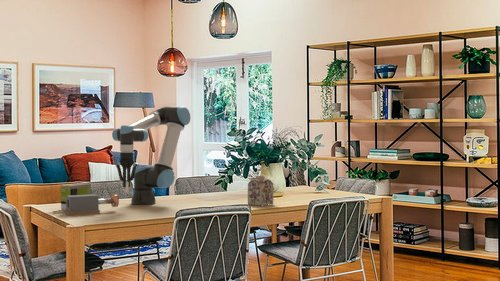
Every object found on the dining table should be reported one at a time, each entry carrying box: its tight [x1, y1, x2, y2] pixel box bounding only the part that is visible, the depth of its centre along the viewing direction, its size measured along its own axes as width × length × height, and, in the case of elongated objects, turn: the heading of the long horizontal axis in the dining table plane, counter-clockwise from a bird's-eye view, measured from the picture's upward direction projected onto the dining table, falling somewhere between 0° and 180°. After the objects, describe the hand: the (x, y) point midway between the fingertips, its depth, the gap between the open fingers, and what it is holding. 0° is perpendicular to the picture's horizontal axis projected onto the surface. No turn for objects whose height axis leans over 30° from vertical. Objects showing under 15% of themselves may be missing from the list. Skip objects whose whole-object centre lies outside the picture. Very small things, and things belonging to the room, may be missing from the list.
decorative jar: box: [247, 175, 274, 206], centre depth 417 cm, size 12×12×18 cm
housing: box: [63, 193, 101, 217], centre depth 377 cm, size 17×12×10 cm
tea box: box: [60, 182, 92, 211], centre depth 395 cm, size 15×10×15 cm, turn 141°
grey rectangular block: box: [99, 194, 120, 208], centre depth 382 cm, size 21×7×7 cm, turn 120°
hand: (126, 192), depth 389 cm, fingers closed
